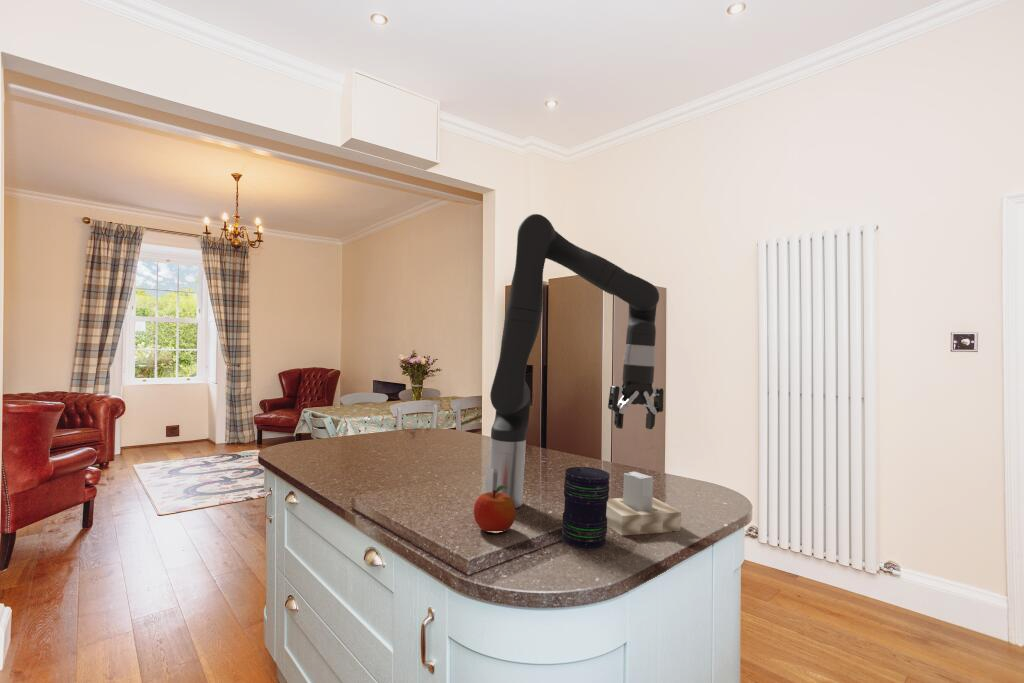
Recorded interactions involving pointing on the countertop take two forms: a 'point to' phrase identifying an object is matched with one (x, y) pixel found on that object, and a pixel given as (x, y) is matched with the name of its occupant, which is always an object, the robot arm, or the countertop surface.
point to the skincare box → (638, 491)
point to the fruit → (494, 511)
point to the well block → (642, 518)
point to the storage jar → (585, 507)
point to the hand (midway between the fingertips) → (634, 428)
